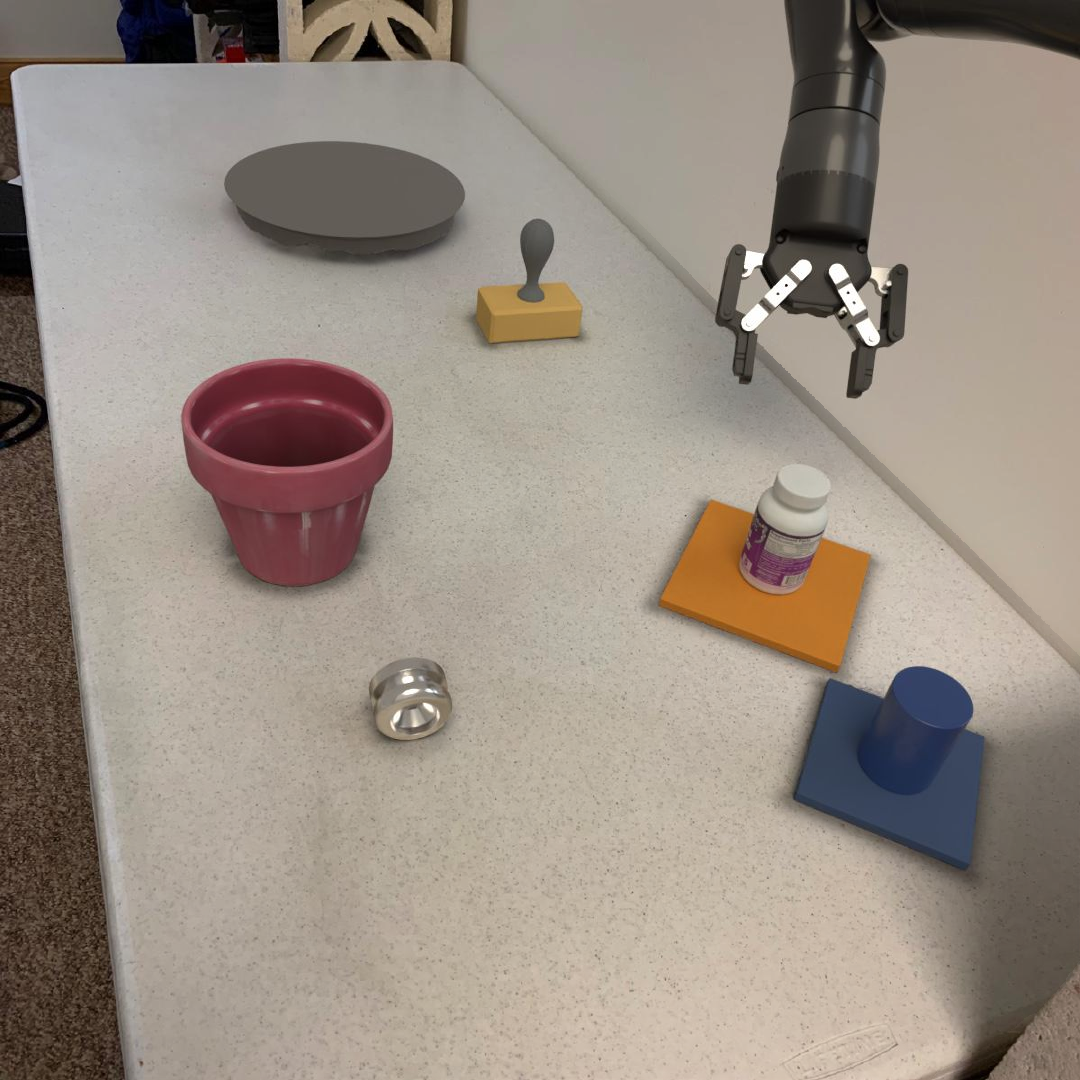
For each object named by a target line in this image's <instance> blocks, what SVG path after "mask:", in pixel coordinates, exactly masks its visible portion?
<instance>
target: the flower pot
mask: <svg viewBox="0 0 1080 1080" xmlns="http://www.w3.org/2000/svg"><path fill="white" fill-rule="evenodd" d="M180 422H181V431H182V432H181V433H182V440H183V446H184V447H183V448H184V452H185V457H186V463H187V467H188V469H189V471H190V474H191V476H192V477H193V479H194V480H195V481H196V483H198V484H199V486H201V488H202V489H204V490H205V491H206V492H207V493H209V494H210V496H211V498H212V500H213V503H214V505H215V507H216V509H217V512H218V514H219V517H220V518H221V520H222V523H223V525H224V527H225V530H226V531H227V533H228V536H229V538H230V541H231V543H232V545H233V547H234V550H235V552H236V555H237V557H238V560H239V562H240V563H241V565H242V566H243V567H244V568H245V569H246V570H247V571H248V572H249V573H250V574H252V575H253V576H254V577H256V578H258V579H260V580H262V581H264V582H266V583H270V584H275V585H279V586H286V587H302V586H308V585H315V584H319V583H321V582H325V581H327V580H329V579H332V578H333V577H336V576H337V575H339V574H340V573H341V572H343V571H344V570H345V569H346V568H348V567H349V565H350V564H351V563H352V561H353V560H354V558H355V555H356V553H357V551H358V547H359V543H360V540H361V537H362V532H363V530H364V527H365V523H366V521H367V520H366V519H367V515H368V512H369V509H370V505H371V501H372V498H373V495H374V490H375V487H376V485H377V484H378V483H379V482H380V481H381V479H383V477H384V476H385V475H386V473H387V471H388V469H389V467H390V464H391V462H392V457H393V449H394V448H393V446H394V415H393V408H392V405H391V402H390V400H389V398H388V396H387V395H386V393H385V392H384V391H383V390H382V388H380V387H379V386H378V385H377V384H376V383H375V382H374V381H372V380H371V379H369V378H368V377H366V376H364V375H363V374H360V373H358V372H356V371H354V370H352V369H350V368H347V367H344V366H341V365H338V364H335V363H334V364H333V363H329V362H326V361H321V360H315V359H307V358H306V359H305V358H293V357H292V358H291V357H289V358H268V359H261V360H254V361H249V362H245V363H242V364H239V365H235V366H232V367H229V368H227V369H224V370H221V371H219V372H217V373H215V374H213V375H212V376H211V377H209V378H207V379H206V380H204V381H203V382H201V383H200V384H199V385H198V386H197V387H195V389H194V390H192V392H191V393H190V394H189V395H188V397H187V398H186V400H185V402H184V404H183V407H182V409H181V414H180Z"/></svg>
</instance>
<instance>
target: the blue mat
mask: <svg viewBox="0 0 1080 1080" xmlns="http://www.w3.org/2000/svg"><path fill="white" fill-rule="evenodd" d="M883 698H884V697H881V696H879V695H876V694H874V693H871V692H868V691H865V690H863V689H860V688H858V687H855V686H853V685H850V684H847V683H844V682H842V681H839V680H837V679H834V678H832V677H829V678H828V680H827V683H826V685H825V689H824V692H823V696H822V699H821V703H820V705H819V709H818V712H817V715H816V716H817V717H816V719H815V723H814V727H813V730H812V734H811V737H810V741H809V744H808V748H807V752H806V755H805V758H804V762H803V766H802V769H801V773H800V775H799V779H798V783H797V786H796V790H795V792H794V793H795V794H794V797H793V800H794V801H796V802H797V803H801V804H803V805H806V806H808V807H810V808H813V809H814V810H815V809H816V810H818V811H819V812H822V813H825V814H827V815H829V816H832V817H835V818H837V819H840V820H841V821H844V822H847V823H850V824H851V825H854V826H857V827H859V828H862V829H863V830H866V831H868V832H871V833H873V834H875V835H878V836H881V837H883V838H885V839H887V840H891V841H893V842H895V843H897V844H900V845H902V846H905V847H907V848H909V849H912V850H915V851H917V852H919V853H922V854H924V855H927V856H930V857H931V858H933V859H936V860H939V861H941V862H944V863H946V864H948V865H951V866H954V867H956V868H958V869H961V870H963V871H967V869H968V868H969V867H970V866H971V864H972V856H973V855H972V854H973V844H974V838H975V837H974V836H975V828H976V827H975V826H976V818H977V809H978V802H979V801H978V799H979V792H980V781H981V774H982V765H983V764H982V763H983V755H984V748H985V747H984V746H985V736H984V735H981V734H978V733H976V732H973V731H971V730H968V729H966V728H965V730H964V731H963V733H962V734H961V736H960V738H959V739H958V741H957V742H956V744H955V746H954V747H953V749H952V750H951V752H950V754H949V755H948V757H947V758H946V760H945V762H944V763H943V765H942V766H941V768H940V770H939V771H938V773H937V774H936V776H935V778H934V779H933V781H932V782H931V784H930V785H929V787H928V788H927V789H926V790H924V791H922V792H920V793H918V794H913V795H902V794H897V793H893V792H890V791H888V790H886V789H884V788H882V787H880V786H879V785H877V784H876V783H874V782H873V781H872V780H871V779H870V778H869V777H868V776H867V775H866V773H865V772H864V771H863V769H862V767H861V765H860V763H859V760H858V747H859V744H860V742H861V740H862V738H863V737H864V735H865V733H866V731H867V729H868V727H869V725H870V723H871V721H872V719H873V717H874V715H875V714H876V712H877V710H878V708H879V706H880V704H881V702H882V700H883Z"/></svg>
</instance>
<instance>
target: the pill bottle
mask: <svg viewBox="0 0 1080 1080" xmlns="http://www.w3.org/2000/svg"><path fill="white" fill-rule="evenodd" d="M775 476H776V477H775V478H774V481H773V485H772V486H769V487H768V488H766V489H765V490H764V491H763V493H761V495H760V497H759V499H758V501H757V505H756V508H755V511H754V513H753V514H754V517H753V520H752V523H751V526H750V529H749V533H748V535H747V539H746V542H745V545H744V548H743V551H742V554H741V558H740V562H739V567H740V571H741V573H742V575H743V577H744V578H745V580H746V581H747V582H748V583H749V584H751V585H752V586H753V587H755V588H757V589H759V590H761V591H763V592H766V593H770V594H779V595H783V594H788V593H792V592H794V591H796V590H797V589H799V588H800V587H801V586H802V584H803V583H804V580H805V578H806V575H807V573H808V570H809V568H810V565H811V563H812V560H813V558H814V555H815V553H816V550H817V548H818V545H819V543H820V540H821V538H823V535H824V533H825V530H826V529H827V526H828V523H829V519H830V513H829V512H830V511H829V507H828V504H827V501H828V497H829V494H830V493H831V488H832V486H831V485H832V484H831V481H830V480H829V478H828V476H826V474H825V473H824V472H823V471H821V470H819V469H818V468H816V467H814V466H810V465H807V464H804V463H791V464H790V463H789V464H786V465H783V466H782V467H781V468H780V469H779V470H778V471H777V473H776V475H775Z"/></svg>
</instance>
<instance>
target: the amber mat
mask: <svg viewBox="0 0 1080 1080" xmlns="http://www.w3.org/2000/svg"><path fill="white" fill-rule="evenodd" d="M754 514H755V513H752V512H749V511H746V510H743V509H740V508H738V507H735V506H732V505H729V504H725V503H723V502H720V501H718V500H714V499H710V500H709V501H708V503H707V506H706V508H705V510H704V512H703V514H702V516H701V517H700V519H699V522H698V523H697V525H696V528H695V530H694V532H693V534H692V535H691V536H690V539H689V542H688V543H687V545H686V547H685V549H684V551H683V553H682V555H681V557H680V558H679V561H678V563H677V565H676V567H675V569H674V571H673V573H672V575H671V577H670V579H669V580H668V582H667V584H666V586H665V588H664V591H663V593H662V595H661V596H660V598H659V602H658V606H659V607H661V608H664V609H667V610H669V611H672V612H675V613H678V614H679V615H683V616H684V617H685V616H686V617H688V618H691V619H693V620H696V621H698V622H701V623H704V624H706V625H709V626H712V627H714V628H717V629H720V630H723V631H725V632H728V633H730V634H733V635H734V636H735V635H736V636H738V637H741V638H744V639H746V640H749V641H752V642H754V643H756V644H760V645H762V646H765V647H768V648H770V649H773V650H775V651H777V652H780V653H783V654H787V655H789V656H791V657H794V658H797V659H800V660H801V661H804V662H807V663H810V664H812V665H815V666H818V667H820V668H823V669H825V670H828V671H830V672H834V673H838V672H839V670H840V667H841V665H842V661H843V659H844V654H845V650H846V647H847V643H848V639H849V635H850V632H851V629H852V625H853V621H854V617H855V614H856V610H857V607H858V603H859V600H860V596H861V592H862V589H863V585H864V581H865V577H866V574H867V570H868V567H869V563H870V560H871V556H872V555H871V554H870V553H867V552H864V551H861V550H859V549H856V548H853V547H850V546H848V545H845V544H842V543H838V542H836V541H833V540H830V539H827V538H824V537H822V538H821V540H820V543H819V545H818V548H817V550H816V553H815V555H814V558H813V560H812V563H811V565H810V568H809V570H808V573H807V575H806V578H805V580H804V583H803V584H802V586H801V587H800V588H799V589H797V590H796V591H794V592H792V593H788V594H783V595H779V594H770V593H766V592H763V591H761V590H759V589H757V588H755V587H753V586H752V585H751V584H749V583H748V582H747V581H746V580H745V578H744V577H743V575H742V573H741V571H740V567H739V562H740V558H741V554H742V551H743V548H744V545H745V542H746V539H747V535H748V533H749V529H750V526H751V523H752V520H753V517H754Z"/></svg>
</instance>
